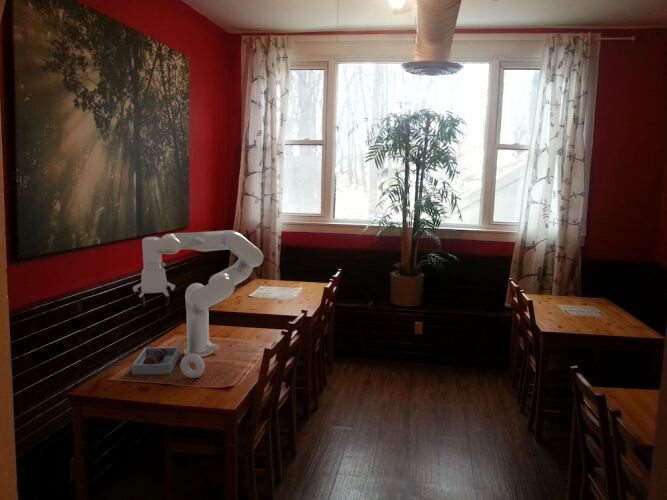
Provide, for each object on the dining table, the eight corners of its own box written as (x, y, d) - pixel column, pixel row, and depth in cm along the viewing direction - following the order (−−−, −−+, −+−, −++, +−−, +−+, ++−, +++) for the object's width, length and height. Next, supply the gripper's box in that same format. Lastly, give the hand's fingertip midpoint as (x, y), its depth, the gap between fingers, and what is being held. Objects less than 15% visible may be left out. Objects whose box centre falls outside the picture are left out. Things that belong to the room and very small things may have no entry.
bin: (180, 355, 237) (179, 347, 236) (170, 374, 216) (170, 364, 215) (145, 356, 235) (144, 347, 234) (132, 374, 214) (131, 365, 214)
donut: (206, 377, 213) (205, 353, 212) (202, 380, 210) (202, 356, 208) (182, 375, 215) (182, 351, 213) (179, 378, 212) (178, 354, 210)
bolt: (165, 360, 233) (151, 372, 218) (155, 354, 233) (140, 365, 218) (171, 349, 232) (158, 360, 217) (161, 343, 232) (147, 354, 217)
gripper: (175, 263, 232) (176, 302, 235) (133, 265, 229) (135, 304, 232) (173, 267, 225) (175, 306, 228) (129, 268, 222) (132, 308, 225)
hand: (155, 305), depth 230 cm, fingers open, 9 cm apart
